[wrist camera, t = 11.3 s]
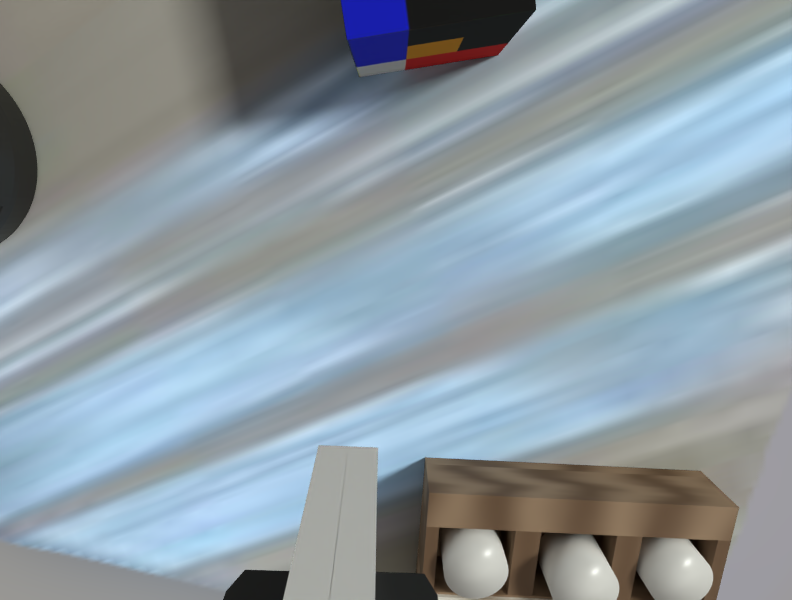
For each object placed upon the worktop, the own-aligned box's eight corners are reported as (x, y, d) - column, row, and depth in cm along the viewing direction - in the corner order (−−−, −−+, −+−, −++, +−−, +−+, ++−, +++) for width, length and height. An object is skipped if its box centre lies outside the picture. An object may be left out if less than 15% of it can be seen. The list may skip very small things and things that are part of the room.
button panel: (416, 575, 46) (419, 628, 41) (425, 457, 43) (429, 497, 38) (674, 586, 47) (712, 640, 41) (700, 471, 44) (744, 512, 38)
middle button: (533, 574, 42) (548, 617, 38) (540, 522, 41) (556, 561, 37) (591, 576, 42) (613, 620, 38) (600, 525, 41) (624, 564, 37)
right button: (619, 565, 44) (643, 606, 40) (629, 515, 43) (654, 552, 39) (676, 568, 44) (706, 609, 40) (687, 518, 43) (719, 555, 39)
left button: (436, 557, 44) (441, 597, 39) (441, 506, 42) (446, 542, 38) (494, 559, 44) (504, 600, 40) (500, 509, 43) (511, 545, 38)
